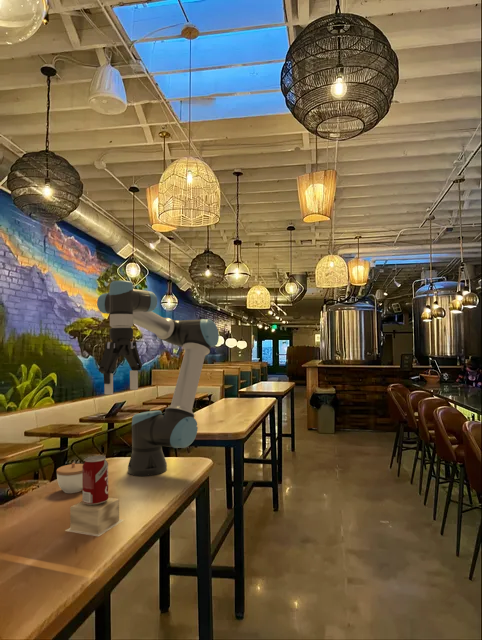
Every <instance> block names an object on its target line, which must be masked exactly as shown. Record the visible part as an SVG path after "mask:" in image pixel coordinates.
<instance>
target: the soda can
mask: <svg viewBox="0 0 482 640" xmlns="http://www.w3.org/2000/svg"><path fill="white" fill-rule="evenodd" d="M82 464H83V466H82V488H83V489H82V501H83V503H84V504H86V505H89V506H96V505H100V504H103V503H104V502H106V501H107V500H108V498H109V463H108V461H107V457H106V456H104V455H93V456H88V457H85V458H84V463H82Z"/></svg>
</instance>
